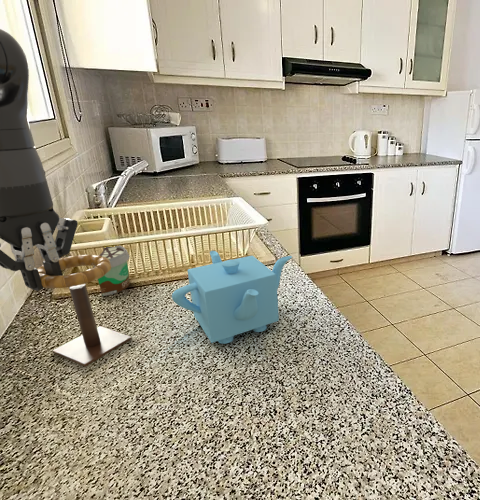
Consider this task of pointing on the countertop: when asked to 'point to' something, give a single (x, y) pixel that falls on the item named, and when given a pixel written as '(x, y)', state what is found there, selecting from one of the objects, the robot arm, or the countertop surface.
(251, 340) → the countertop surface
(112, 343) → the peg stand
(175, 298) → the teakettle
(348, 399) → the countertop surface
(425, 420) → the countertop surface
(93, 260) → the ring
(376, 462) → the countertop surface
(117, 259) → the food container
